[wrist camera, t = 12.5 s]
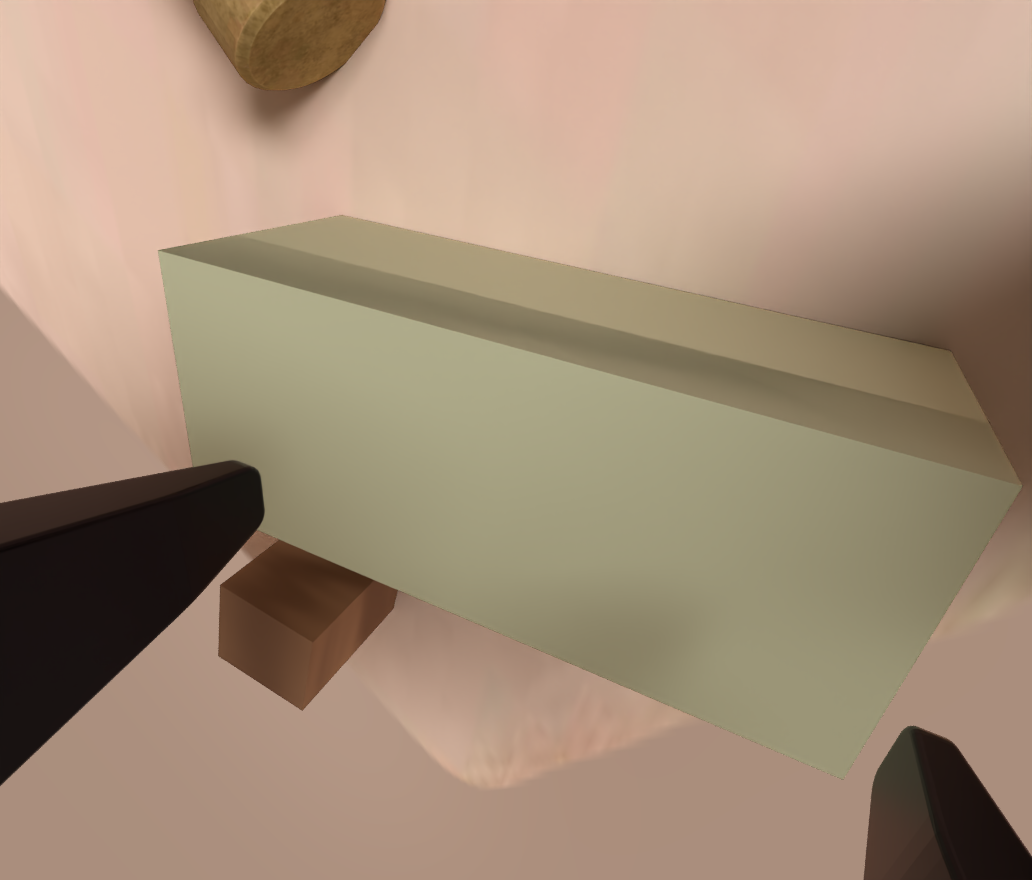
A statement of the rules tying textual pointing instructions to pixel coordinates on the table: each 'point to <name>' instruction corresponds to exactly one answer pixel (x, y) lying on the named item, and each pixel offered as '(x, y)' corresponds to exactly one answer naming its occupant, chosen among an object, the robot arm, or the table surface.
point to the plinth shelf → (599, 464)
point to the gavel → (289, 36)
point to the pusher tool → (297, 619)
